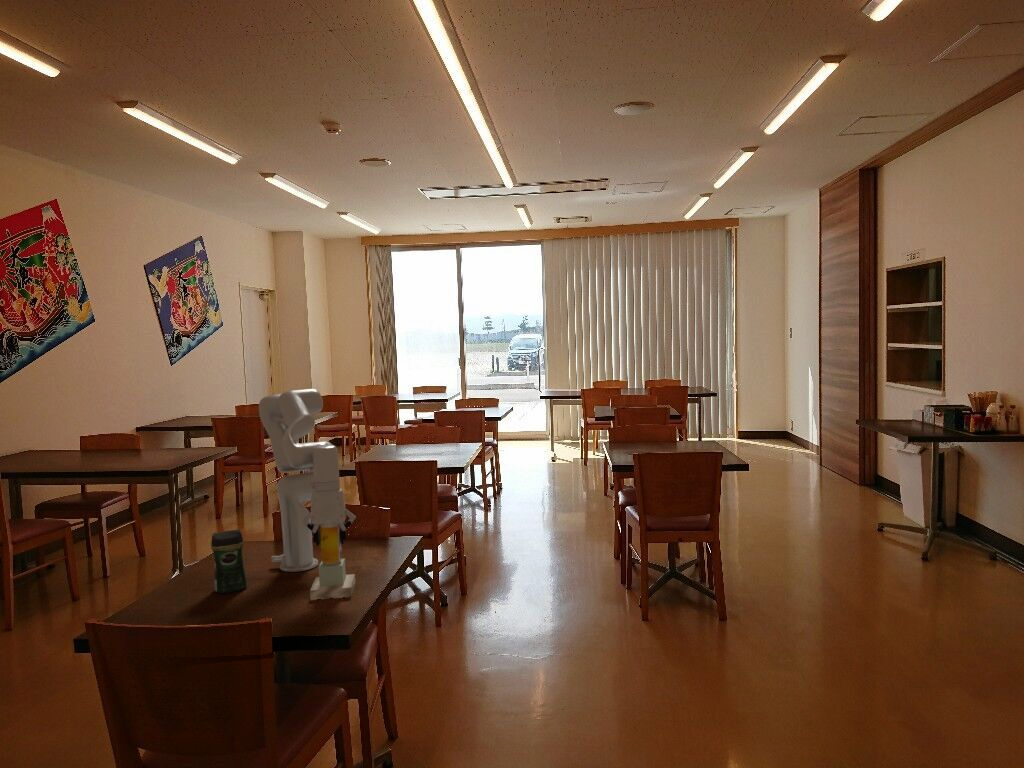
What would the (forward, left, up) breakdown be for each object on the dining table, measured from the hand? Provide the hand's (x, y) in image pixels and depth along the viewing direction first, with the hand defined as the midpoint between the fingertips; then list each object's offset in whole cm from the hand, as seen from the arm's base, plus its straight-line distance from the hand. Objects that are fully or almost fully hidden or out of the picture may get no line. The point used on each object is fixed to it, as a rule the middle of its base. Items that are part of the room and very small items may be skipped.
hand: (330, 543), depth 225 cm
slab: (0, 0, -15) cm, 15 cm away
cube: (0, 0, -12) cm, 12 cm away
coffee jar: (-33, +10, -15) cm, 38 cm away
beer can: (0, 0, -6) cm, 6 cm away
